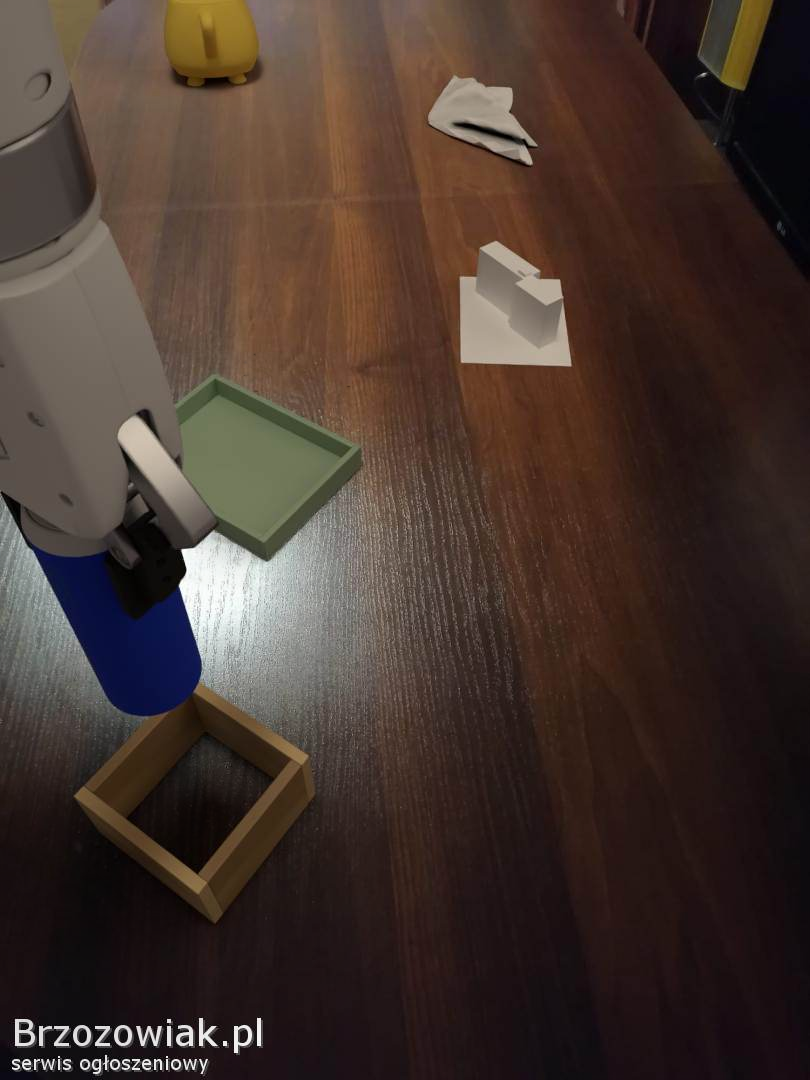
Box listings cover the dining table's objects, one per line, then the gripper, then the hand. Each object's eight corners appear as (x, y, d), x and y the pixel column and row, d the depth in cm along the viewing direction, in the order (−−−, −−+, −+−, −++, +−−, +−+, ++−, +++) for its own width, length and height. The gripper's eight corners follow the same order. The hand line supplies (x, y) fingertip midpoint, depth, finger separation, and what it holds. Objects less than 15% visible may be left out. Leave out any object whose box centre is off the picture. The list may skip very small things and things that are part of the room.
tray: (118, 474, 76) (111, 454, 75) (218, 392, 83) (214, 372, 81) (267, 561, 71) (263, 542, 69) (362, 466, 77) (361, 446, 76)
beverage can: (129, 629, 48) (50, 435, 36) (217, 647, 47) (166, 456, 36) (89, 710, 45) (-13, 527, 33) (182, 731, 44) (113, 552, 33)
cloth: (417, 80, 127) (417, 64, 125) (509, 77, 128) (511, 61, 126) (440, 170, 110) (441, 153, 109) (545, 166, 111) (548, 149, 110)
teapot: (257, 40, 135) (247, -52, 125) (265, 97, 123) (254, 0, 113) (170, 44, 133) (153, -49, 124) (169, 103, 121) (150, 5, 111)
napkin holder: (457, 276, 96) (461, 229, 92) (559, 278, 96) (568, 232, 91) (460, 363, 87) (464, 316, 82) (573, 366, 87) (583, 319, 82)
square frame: (99, 832, 56) (73, 796, 52) (204, 717, 62) (189, 674, 57) (215, 924, 53) (197, 894, 48) (316, 793, 58) (309, 755, 54)
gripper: (-350, 129, 25) (-87, 528, 39) (54, 357, 19) (191, 728, 33) (-119, 43, 29) (44, 434, 43) (274, 211, 23) (313, 599, 37)
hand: (107, 560), depth 38 cm, fingers closed on beverage can, 5 cm apart
